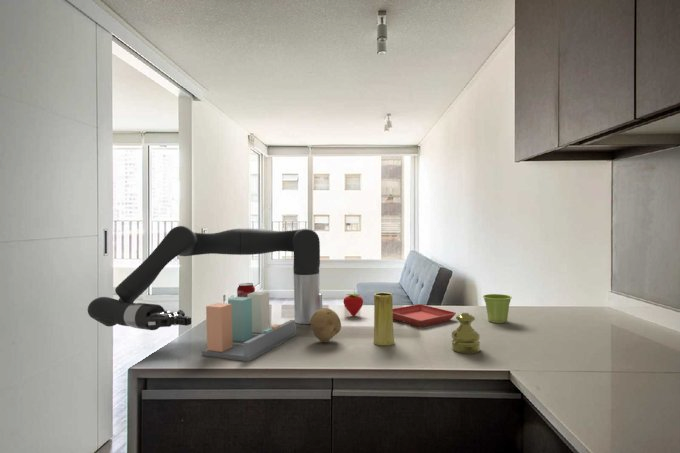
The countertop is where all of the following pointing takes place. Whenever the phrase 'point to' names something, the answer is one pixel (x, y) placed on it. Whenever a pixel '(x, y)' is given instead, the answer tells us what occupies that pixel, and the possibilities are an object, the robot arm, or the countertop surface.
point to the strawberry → (353, 303)
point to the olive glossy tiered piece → (465, 335)
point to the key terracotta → (219, 327)
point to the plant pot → (497, 307)
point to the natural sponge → (325, 324)
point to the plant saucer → (421, 315)
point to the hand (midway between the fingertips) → (189, 321)
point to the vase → (383, 319)
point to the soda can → (245, 289)
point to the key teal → (241, 318)
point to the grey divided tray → (257, 343)
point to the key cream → (260, 311)
